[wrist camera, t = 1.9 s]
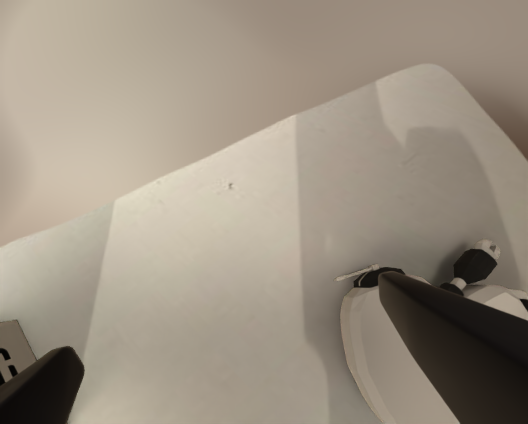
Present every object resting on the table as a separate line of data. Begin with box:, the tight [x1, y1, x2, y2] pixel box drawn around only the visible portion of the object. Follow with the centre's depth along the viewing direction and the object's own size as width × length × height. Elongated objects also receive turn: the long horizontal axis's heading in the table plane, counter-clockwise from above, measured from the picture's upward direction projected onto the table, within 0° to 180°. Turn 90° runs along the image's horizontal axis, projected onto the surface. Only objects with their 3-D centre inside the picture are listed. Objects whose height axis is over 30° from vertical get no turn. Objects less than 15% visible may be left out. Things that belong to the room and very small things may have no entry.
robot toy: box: [334, 239, 528, 424], centre depth 18 cm, size 12×4×15 cm
